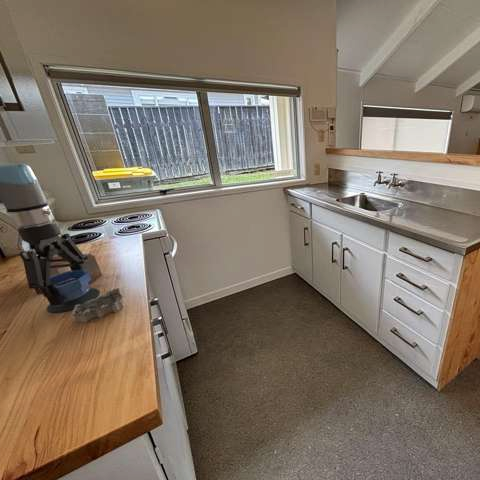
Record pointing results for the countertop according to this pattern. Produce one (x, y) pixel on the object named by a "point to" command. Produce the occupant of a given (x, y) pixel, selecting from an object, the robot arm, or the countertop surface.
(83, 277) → the bowl
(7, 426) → the countertop surface
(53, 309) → the mat
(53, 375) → the countertop surface
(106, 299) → the egg carton
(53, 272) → the rack
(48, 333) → the countertop surface
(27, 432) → the countertop surface
